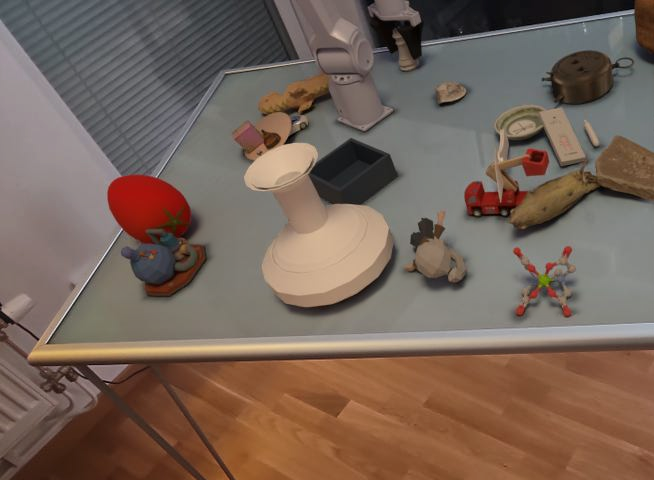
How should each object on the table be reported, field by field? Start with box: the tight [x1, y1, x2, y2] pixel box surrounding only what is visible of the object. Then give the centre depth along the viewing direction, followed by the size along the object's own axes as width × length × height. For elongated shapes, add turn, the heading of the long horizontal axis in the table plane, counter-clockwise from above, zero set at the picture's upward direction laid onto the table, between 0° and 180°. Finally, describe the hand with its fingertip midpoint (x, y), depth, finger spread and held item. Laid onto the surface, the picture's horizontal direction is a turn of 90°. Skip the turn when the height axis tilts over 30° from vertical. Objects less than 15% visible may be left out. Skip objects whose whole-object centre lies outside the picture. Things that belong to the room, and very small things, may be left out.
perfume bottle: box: [231, 112, 292, 162], centre depth 122 cm, size 12×12×4 cm
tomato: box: [106, 174, 193, 246], centre depth 107 cm, size 13×11×14 cm
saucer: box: [493, 104, 547, 141], centre depth 107 cm, size 10×10×2 cm
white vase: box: [243, 142, 395, 308], centre depth 88 cm, size 20×20×19 cm
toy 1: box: [257, 70, 331, 116], centre depth 132 cm, size 5×12×20 cm
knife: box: [494, 129, 510, 203], centre depth 93 cm, size 26×4×1 cm
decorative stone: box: [594, 134, 654, 202], centre depth 90 cm, size 10×6×15 cm
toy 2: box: [405, 210, 467, 283], centre depth 89 cm, size 11×8×15 cm
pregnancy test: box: [539, 106, 600, 167], centre depth 101 cm, size 8×12×1 cm, turn 14°
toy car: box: [288, 114, 309, 137], centre depth 125 cm, size 4×12×3 cm, turn 126°
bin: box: [308, 137, 399, 205], centre depth 107 cm, size 11×11×4 cm
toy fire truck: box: [463, 147, 550, 218], centre depth 91 cm, size 3×14×10 cm, turn 75°
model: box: [120, 229, 207, 297], centre depth 101 cm, size 12×9×9 cm
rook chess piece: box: [392, 26, 420, 73], centre depth 130 cm, size 4×4×8 cm
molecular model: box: [512, 245, 577, 317], centre depth 79 cm, size 7×8×8 cm
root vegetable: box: [507, 159, 602, 230], centre depth 91 cm, size 5×20×5 cm
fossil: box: [434, 81, 467, 105], centre depth 121 cm, size 8×4×6 cm
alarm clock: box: [540, 49, 635, 105], centre depth 111 cm, size 11×5×16 cm
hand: (406, 54), depth 131 cm, fingers open, 7 cm apart
